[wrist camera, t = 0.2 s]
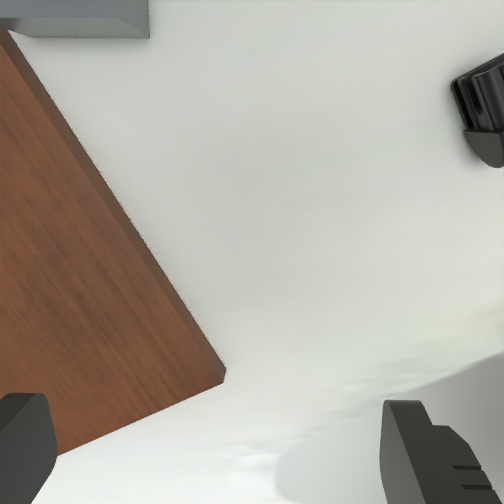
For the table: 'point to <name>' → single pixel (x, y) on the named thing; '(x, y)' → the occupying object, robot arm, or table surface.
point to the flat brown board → (81, 281)
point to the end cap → (483, 109)
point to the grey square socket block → (76, 18)
